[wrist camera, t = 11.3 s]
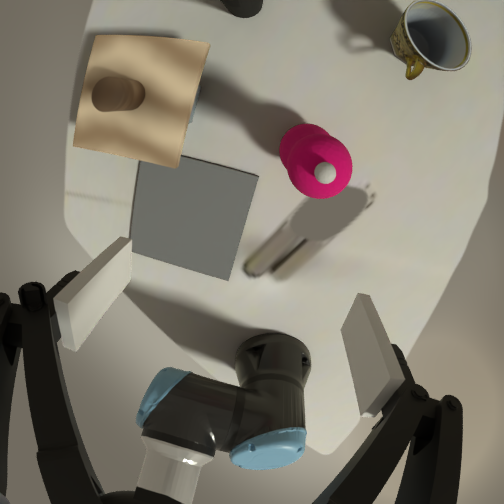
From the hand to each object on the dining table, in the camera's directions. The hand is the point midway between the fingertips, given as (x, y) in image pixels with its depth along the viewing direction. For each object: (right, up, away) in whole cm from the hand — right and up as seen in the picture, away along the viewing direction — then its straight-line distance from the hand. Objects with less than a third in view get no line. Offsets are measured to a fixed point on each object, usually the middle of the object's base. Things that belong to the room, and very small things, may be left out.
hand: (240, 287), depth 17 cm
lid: (-14, +22, +16) cm, 30 cm away
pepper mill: (+8, +17, +24) cm, 30 cm away
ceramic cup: (+23, +31, +16) cm, 42 cm away
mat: (-9, +8, +30) cm, 32 cm away
